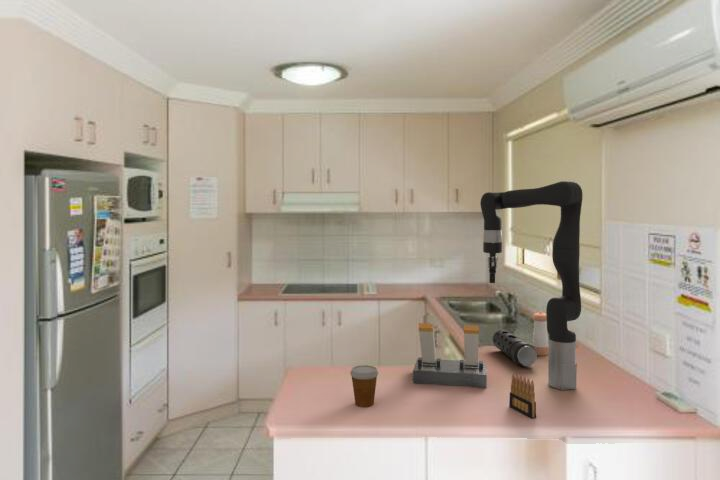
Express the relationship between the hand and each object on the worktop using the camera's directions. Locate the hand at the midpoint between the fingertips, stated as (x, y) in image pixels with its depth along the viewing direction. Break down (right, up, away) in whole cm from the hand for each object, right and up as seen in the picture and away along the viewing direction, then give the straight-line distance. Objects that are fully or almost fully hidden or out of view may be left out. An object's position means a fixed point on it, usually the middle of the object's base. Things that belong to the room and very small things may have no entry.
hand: (492, 282), depth 213 cm
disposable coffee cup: (-53, -38, -38) cm, 76 cm away
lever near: (-12, -30, -16) cm, 36 cm away
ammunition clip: (-2, -38, -46) cm, 60 cm away
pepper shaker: (+27, -34, +20) cm, 48 cm away
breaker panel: (-20, -36, -13) cm, 43 cm away
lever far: (-28, -30, -12) cm, 43 cm away
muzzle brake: (+12, -35, +11) cm, 38 cm away
